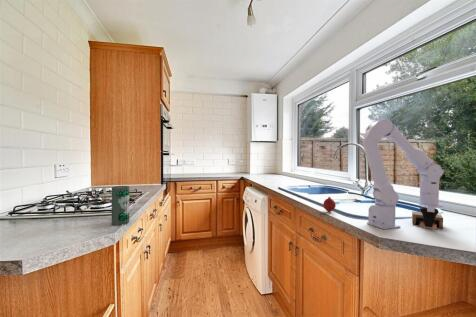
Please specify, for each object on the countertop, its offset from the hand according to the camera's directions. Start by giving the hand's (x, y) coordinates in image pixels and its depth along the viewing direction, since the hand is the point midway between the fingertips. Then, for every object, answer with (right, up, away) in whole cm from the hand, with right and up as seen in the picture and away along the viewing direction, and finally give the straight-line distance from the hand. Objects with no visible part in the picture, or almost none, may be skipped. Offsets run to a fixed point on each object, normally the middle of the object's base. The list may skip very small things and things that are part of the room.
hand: (428, 226), depth 88 cm
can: (-125, 0, +2) cm, 126 cm away
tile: (+2, -2, +3) cm, 4 cm away
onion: (-30, 0, +24) cm, 38 cm away
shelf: (+4, -1, +5) cm, 7 cm away
